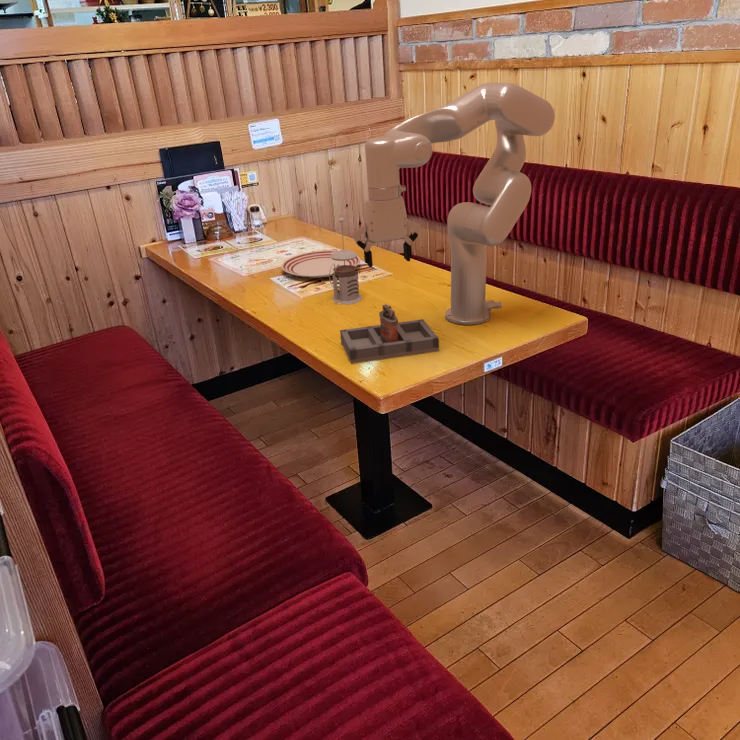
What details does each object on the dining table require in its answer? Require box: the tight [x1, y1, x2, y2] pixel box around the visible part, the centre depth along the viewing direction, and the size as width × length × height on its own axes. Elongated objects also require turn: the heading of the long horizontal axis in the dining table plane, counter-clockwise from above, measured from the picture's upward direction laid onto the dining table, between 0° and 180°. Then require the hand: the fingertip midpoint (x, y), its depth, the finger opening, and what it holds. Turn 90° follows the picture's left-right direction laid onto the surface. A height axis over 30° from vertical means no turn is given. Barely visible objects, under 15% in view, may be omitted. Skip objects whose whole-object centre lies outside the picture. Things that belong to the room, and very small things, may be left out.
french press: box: [328, 217, 363, 305], centre depth 200 cm, size 10×12×25 cm
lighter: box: [378, 303, 399, 343], centre depth 169 cm, size 8×3×10 cm, turn 20°
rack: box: [339, 318, 440, 364], centre depth 171 cm, size 22×14×4 cm, turn 103°
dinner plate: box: [281, 249, 361, 279], centre depth 233 cm, size 28×27×3 cm
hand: (388, 262), depth 166 cm, fingers open, 9 cm apart
